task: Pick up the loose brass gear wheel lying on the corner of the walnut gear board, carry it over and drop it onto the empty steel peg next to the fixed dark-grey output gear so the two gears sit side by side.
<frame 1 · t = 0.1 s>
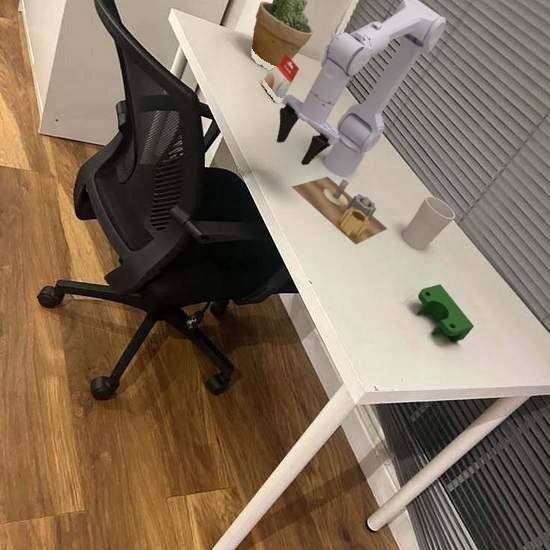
hand: (292, 152, 117), 10 cm above the table, fingers open, 7 cm apart
clamp: (431, 324, 113), on the table
brass gear: (349, 229, 123), point 1 cm above the table, touching board
grey gear: (356, 215, 129), resting on board
cup: (409, 245, 134), on the table
board: (338, 212, 129), on the table
potted plant: (266, 63, 180), on the table
ink box: (270, 95, 163), on the table
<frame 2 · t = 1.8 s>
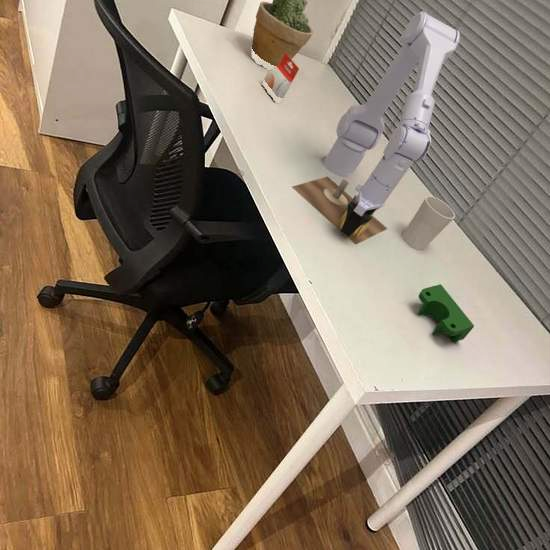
hand: (350, 228, 122), 2 cm above the table, fingers open, 7 cm apart
nothing on the table moved.
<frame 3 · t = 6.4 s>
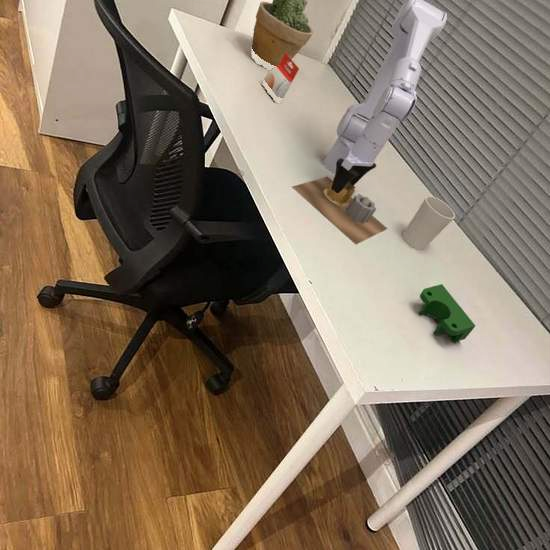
hand: (342, 187, 129), 4 cm above the table, fingers open, 7 cm apart
brass gear: (336, 197, 131), point 1 cm above the table, touching board
everything else where it was.
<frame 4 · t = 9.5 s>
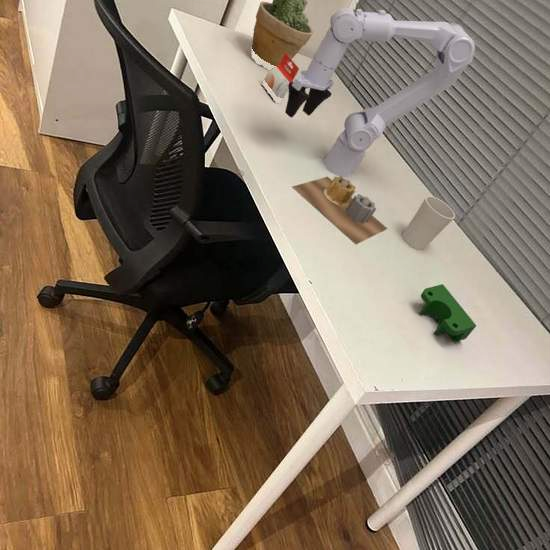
hand: (297, 114, 134), 10 cm above the table, fingers open, 7 cm apart
nothing on the table moved.
at the end: brass gear 0.2 cm from the target spot on the board, point 1.3 cm above the board's base; brass gear tilted 0°; the gripper is holding nothing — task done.
